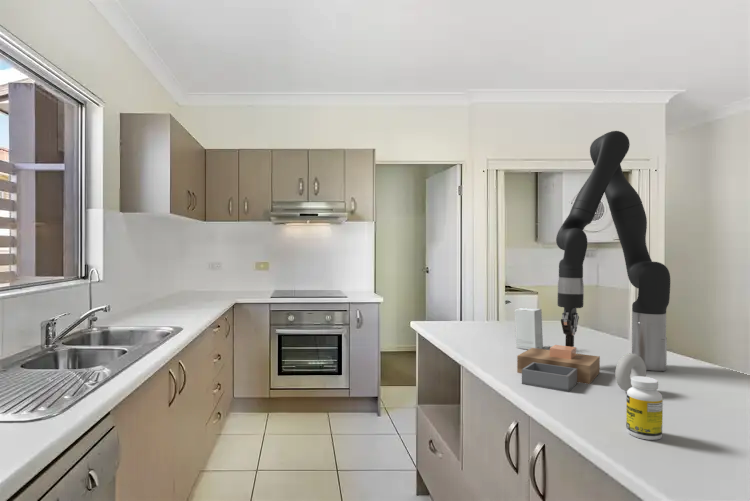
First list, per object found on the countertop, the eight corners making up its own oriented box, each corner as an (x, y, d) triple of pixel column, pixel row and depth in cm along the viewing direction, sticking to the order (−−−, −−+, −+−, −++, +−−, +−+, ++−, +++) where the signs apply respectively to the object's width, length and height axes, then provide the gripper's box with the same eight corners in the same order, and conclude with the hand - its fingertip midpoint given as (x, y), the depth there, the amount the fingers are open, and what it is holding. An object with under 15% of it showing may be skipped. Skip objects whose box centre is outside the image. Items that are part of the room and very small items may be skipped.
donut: (624, 396, 116) (624, 356, 116) (612, 392, 119) (612, 353, 119) (649, 391, 120) (649, 352, 120) (636, 387, 123) (636, 350, 123)
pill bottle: (619, 429, 95) (619, 375, 95) (647, 428, 95) (648, 374, 95) (639, 441, 88) (640, 383, 88) (669, 440, 89) (670, 383, 89)
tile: (575, 355, 139) (576, 347, 139) (571, 359, 134) (571, 350, 134) (555, 352, 142) (555, 344, 142) (549, 356, 137) (549, 347, 137)
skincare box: (543, 349, 171) (543, 309, 171) (535, 351, 167) (535, 310, 167) (522, 345, 177) (522, 306, 177) (514, 348, 173) (514, 308, 173)
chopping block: (599, 373, 138) (599, 356, 138) (589, 384, 126) (589, 365, 126) (531, 363, 149) (532, 347, 149) (517, 372, 138) (517, 355, 138)
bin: (577, 383, 127) (577, 368, 127) (568, 392, 119) (568, 376, 119) (533, 375, 134) (533, 362, 134) (521, 383, 126) (521, 369, 126)
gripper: (578, 294, 138) (577, 352, 138) (587, 291, 148) (587, 345, 149) (552, 292, 142) (551, 348, 142) (563, 289, 153) (562, 342, 153)
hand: (569, 346), depth 145 cm, fingers closed
